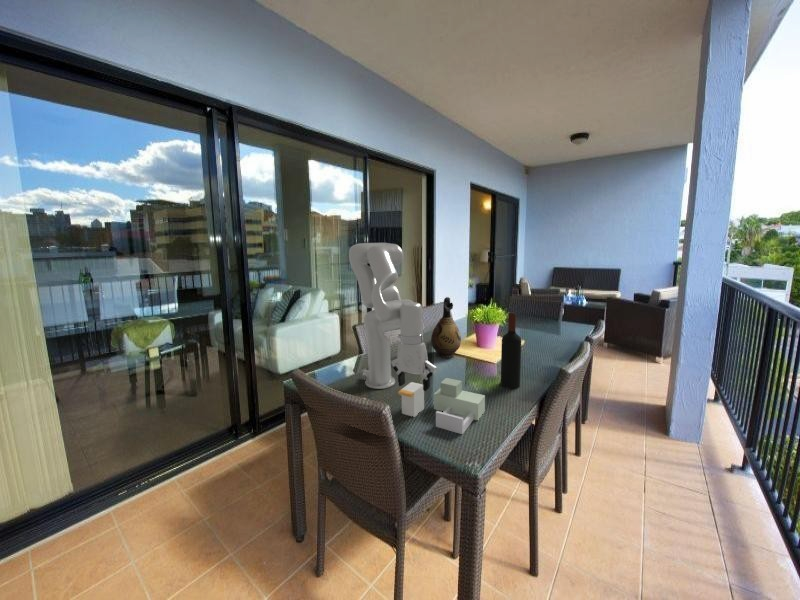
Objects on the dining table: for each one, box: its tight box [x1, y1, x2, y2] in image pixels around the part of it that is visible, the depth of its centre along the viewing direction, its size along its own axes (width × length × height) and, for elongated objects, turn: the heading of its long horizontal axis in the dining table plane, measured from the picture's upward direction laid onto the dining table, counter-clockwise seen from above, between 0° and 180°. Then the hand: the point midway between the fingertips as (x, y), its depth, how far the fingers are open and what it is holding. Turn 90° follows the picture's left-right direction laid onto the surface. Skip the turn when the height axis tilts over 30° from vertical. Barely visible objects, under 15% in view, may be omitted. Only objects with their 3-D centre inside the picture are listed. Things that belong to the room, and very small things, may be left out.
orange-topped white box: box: [397, 381, 425, 418], centre depth 118 cm, size 5×9×9 cm, turn 148°
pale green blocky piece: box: [433, 377, 486, 435], centre depth 114 cm, size 16×17×10 cm
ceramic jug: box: [430, 296, 462, 359], centre depth 176 cm, size 17×15×30 cm
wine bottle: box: [500, 311, 522, 390], centre depth 136 cm, size 8×8×30 cm
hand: (413, 387), depth 118 cm, fingers open, 9 cm apart
